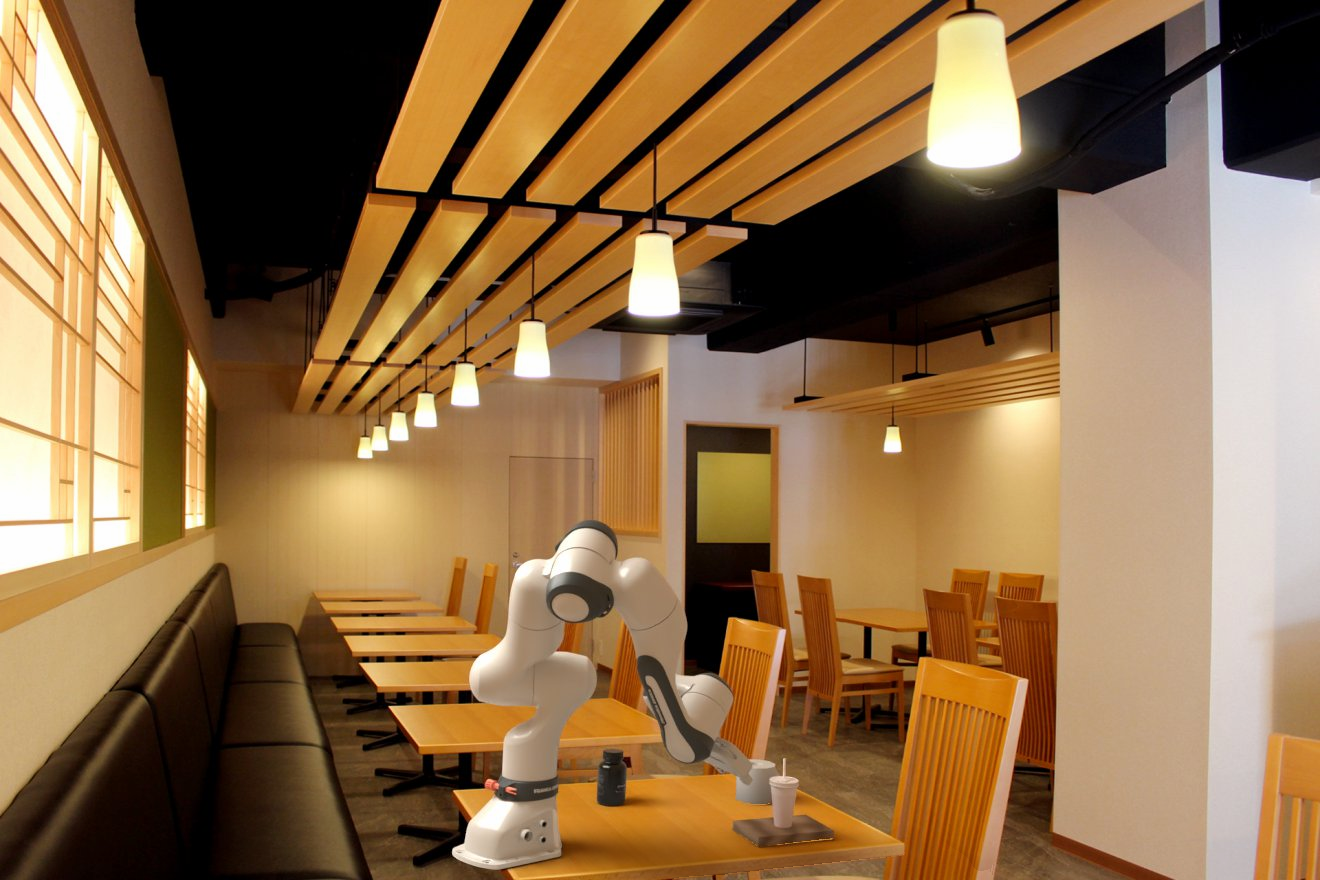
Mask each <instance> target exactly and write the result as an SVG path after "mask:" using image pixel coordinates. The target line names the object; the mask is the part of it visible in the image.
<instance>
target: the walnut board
mask: <svg viewBox="0 0 1320 880" xmlns="http://www.w3.org/2000/svg"><path fill="white" fill-rule="evenodd" d="M732 831H733V832H735V833H737V835H739V834H740V835H739V836H741V835H742V836H743V838H744V837H745V838H747V839H748V840H749V842H750V841H751V842H753V843H754V844H756V845H757V846H758V847H757V846H756V845H755V846H756V847H757V848H760V847H759V846H766V847H769V846H768V845H776V846H778V845H777V844H785V843H793V842H802V841H811V840H819V839H830V838H834V839H835V830H834V829H833V828H831V827H829V826H827V825H826V824H823V823H822V822H821V821H818V820H816V819H815V818H813V817H811V816H809V815H807V814H796V815H795V814H794V815H793V820H792V826H791V827H789V828H780V827H776V826H775V825H774V816H773V817H763V818H762V817H761V818H749V819H748V818H747V819H737V820H733V822H732ZM742 836H741V837H742ZM745 838H744V839H745ZM747 839H746V840H747ZM748 840H747V841H748ZM751 842H750V843H751ZM753 843H752V844H753ZM754 844H753V845H754Z"/></svg>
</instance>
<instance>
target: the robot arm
mask: <svg viewBox="0 0 1320 880" xmlns="http://www.w3.org/2000/svg"><path fill="white" fill-rule="evenodd" d="M618 543H619V541H618V537H617V535H616V533H615V532H614V530H613V529H612V528H611V527H610V526H609V525H608V524H606V523H604V522H602V521H599V520H595V519H585V520H581V521H580V522H578V523H576V524H575V525H573V526H572V527H571V528H570V529H569V530H568V531H567V533H566V534H565V535H564V536H563V537H562V539H560V541H559V542H558V543H557V544H556V545H555V547H554V550H555V554H554V555H553V557H551V558H549V559H543V558H534V559H530V560H527V561H526V562H524V563H522V564H521V565H520V566H519V567H518V569H517V570H516V572H515V574H514V578H513V580H512V584H511V588H510V593H509V600H508V601H509V602H508V612H507V613H508V616H507V618H508V619H507V625H506V626H507V627H506V633H505V635H504V637H503V639H502V640H501V641H500V642H499V643H497V645H496V646H494V647H492V648H491V649H489V650H488V651H486V652H484V653H482V654H480V655H478V657H476V659H475V660H474V661H473V664H472V665H471V668H470V671H469V676H468V678H469V679H468V680H469V686H470V691H471V693H472V695H473V696H474V697H475V698H476V700H477V701H478V702H481V703H486V704H490V705H493V706H494V705H495V706H500V707H532V708H533V707H534V708H536V711H535V713H534V715H533V716H531V717H530V718H529V719H527V720H525V721H523V722H520V723H519V724H517V725H515V726H513V727H512V728H511V729H510V730H508V732H506V733H505V736H504V738H503V742H502V743H503V745H502V746H503V747H502V748H503V749H502V766H501V767H502V768H501V769H502V770H501V771H502V772H501V773H500V776H499V778H498V779H497V780H493V779H491V778H488V779H487V780H486V782H484V788H485V789H486V790H489V791H492V792H493V794H494V795H493V796H492V798H490V800H489V801H488V802H487V803H486V804H485V805H484V806H483V807H482V808H481V809H480V810H479V811H478V812H477V814H475V815H474V816H473V817H472V818H471V819H470V820H469V822H468V824H467V827H466V831H465V832H466V833H465V838H464V842H463V843H462V844H459V845H457V846H454V847H453V848H452V851H451V853H452V856H453V857H454V858H456V859H457V860H458V861H461V862H463V863H465V864H467V865H471V866H474V867H478V868H480V869H481V868H483V869H487V870H498V871H499V870H503V869H507V868H508V869H509V868H512V867H518V866H522V865H523V866H524V865H527V864H531V863H532V864H533V863H537V862H540V861H546V860H551V859H555V858H559V857H561V856H562V847H563V844H562V840H561V834H560V830H559V829H560V827H559V814H558V807H557V806H558V805H557V795H558V794H559V787H560V785H559V784H560V783H559V779H560V778H559V775H558V771H557V770H558V758H559V757H558V756H559V748H560V740H561V736H562V734H563V730H564V728H565V727H566V724H567V722H568V721H569V719H570V718H571V717H572V715H573V714H574V713H575V712H576V711H577V710H578V709H579V708H581V707H582V706H583V705H584V704H586V703H588V701H589V700H590V698H591V697H593V694H594V692H595V690H596V687H597V683H598V681H597V680H598V675H597V670H596V667H595V665H594V664H593V662H592V661H591V659H590V658H589V657H588V656H586V655H582V654H579V653H576V652H575V653H574V652H570V651H557V650H558V649H559V648H560V647H561V645H562V643H563V641H564V637H565V626H566V623H570V624H582V623H583V624H584V623H588V622H591V621H593V620H595V619H598V618H605V617H606V616H607V615H609V614H610V612H611V611H612V610H613V609H615V610H616V611H617V613H618V614H619V615H620V618H621V619H622V621H623V623H624V624H625V626H626V628H627V629H628V631H629V634H630V637H631V640H632V643H633V647H634V651H635V658H636V670H637V674H638V678H639V680H640V683H641V685H642V688H643V691H642V692H643V693H642V698H643V701H644V703H645V704H646V705H647V708H648V709H649V711H650V712H651V713H652V715H654V717H655V718H656V721H657V723H658V726H659V730H660V737H661V740H662V743H663V745H664V746H663V747H664V748H665V750H666V751H667V752H668V754H669V755H670V756H671V757H672V758H673V759H675V760H676V761H678V762H680V763H683V764H684V765H685V764H687V765H688V764H696V763H700V762H702V761H703V762H705V763H707V764H709V765H711V766H713V768H715V770H717V771H718V772H719V773H720V774H722V775H725V774H726V773H728V774H731V775H734V776H735V777H736V776H737V777H739V778H740V780H741V781H742V782H743V783H744V784H746V785H750V784H751V782H752V781H753V779H752V777H751V776H750V775H749V772H750V770H751V769H752V767H753V766H752V763H751V762H750V761H749V759H750V758H748V757H746V755H745V754H744V753H743V752H742V751H741V750H740V749H739V748H738V747H737V746H736V745H735V744H733V743H732V741H729V740H726V739H724V738H721V734H720V732H721V729H722V727H723V725H724V723H725V722H726V721H725V720H726V718H727V716H728V715H729V712H730V710H731V708H732V706H733V703H734V701H735V697H734V693H733V690H732V688H731V686H730V685H729V684H728V683H727V681H725V679H723V678H722V677H721V676H720V675H718V674H716V673H713V672H703V673H699V674H696V675H682V674H679V673H677V667H678V664H679V663H678V662H679V659H680V655H681V653H682V649H683V646H684V642H685V640H686V637H687V636H686V635H687V632H688V621H687V616H686V611H685V609H684V607H683V605H682V602H681V601H680V600H679V597H678V596H677V593H676V592H675V591H674V589H673V588H672V586H671V585H670V583H669V582H668V581H667V579H666V577H664V575H663V574H662V572H660V570H659V569H658V568H657V567H656V566H655V565H654V564H653V563H652V562H651V561H650V560H648V559H646V558H644V557H630V558H627V559H625V560H623V561H622V560H621V561H619V560H617V558H618V552H619V544H618Z"/></svg>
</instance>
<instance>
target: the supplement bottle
mask: <svg viewBox="0 0 1320 880" xmlns="http://www.w3.org/2000/svg"><path fill="white" fill-rule="evenodd" d="M601 756H602V757H601V758H602V761H599V764H598V765H597V784H596V802H597V804H599V805H601V806H605V807H618V806H619V807H620V806H622V805H624V804H625V803H626V795H627V773H628V771H627V770H628V767H627V764H626V763H625V762H624V761H623V760H624V751H623V750H622V749H619V748H606V749H603V751H602V755H601Z"/></svg>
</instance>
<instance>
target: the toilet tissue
mask: <svg viewBox="0 0 1320 880" xmlns="http://www.w3.org/2000/svg"><path fill="white" fill-rule="evenodd" d="M748 759H749V761H750V762H751V763H752V766H753V767H752V769H751V770H750V772H749V775H750V776H751V777H752V779H753V781H752V782H751V784H750V785H746V784H744V783H743V782H742V781H741V780H740V778H739V777H737V776H735V781H736V782H735V801H736V800H739V801H741V802H744V803H750V804H768V803H772V793H771V785H770V784H769V782H770V778H771V777H775V776H781V774H780V773H779V771H778V770H777V768H776V763H774V762H772V761H769V760H765V759H756V758H755V759H754V758H753V759H750V758H748Z"/></svg>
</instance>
